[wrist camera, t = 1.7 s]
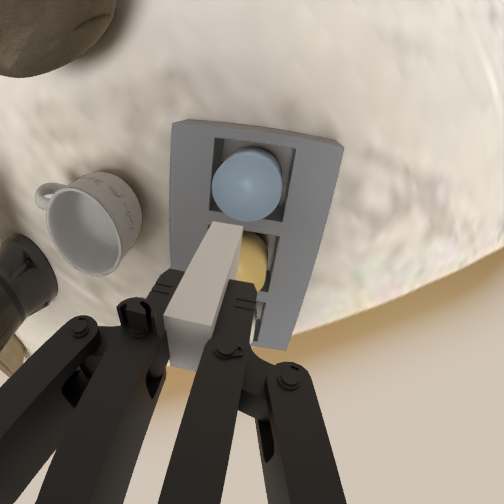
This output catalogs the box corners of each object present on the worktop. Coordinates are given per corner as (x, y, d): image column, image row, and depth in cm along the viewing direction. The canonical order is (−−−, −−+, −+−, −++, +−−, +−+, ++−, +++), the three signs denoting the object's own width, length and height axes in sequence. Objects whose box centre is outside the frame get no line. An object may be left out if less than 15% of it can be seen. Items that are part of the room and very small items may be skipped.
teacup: (169, 205, 31) (137, 239, 24) (126, 258, 35) (97, 294, 29) (89, 131, 26) (44, 147, 20) (59, 193, 31) (21, 218, 24)
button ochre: (214, 270, 31) (205, 292, 28) (217, 225, 28) (207, 245, 25) (263, 278, 31) (260, 302, 28) (272, 234, 28) (269, 255, 25)
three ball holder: (183, 310, 39) (175, 330, 36) (186, 119, 25) (172, 123, 22) (286, 329, 39) (286, 350, 35) (336, 140, 25) (344, 147, 22)
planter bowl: (31, 363, 65) (17, 385, 56) (-1, 332, 60) (-17, 353, 51) (33, 348, 58) (16, 374, 49) (-3, 312, 53) (-22, 336, 44)
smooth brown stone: (118, -42, 14) (39, -77, 1) (155, 26, 20) (58, -5, 7) (40, 26, 18) (-44, 30, 5) (66, 97, 24) (-31, 122, 11)
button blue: (219, 199, 27) (209, 216, 23) (225, 143, 24) (214, 151, 20) (276, 208, 27) (275, 226, 23) (286, 152, 24) (287, 161, 20)
